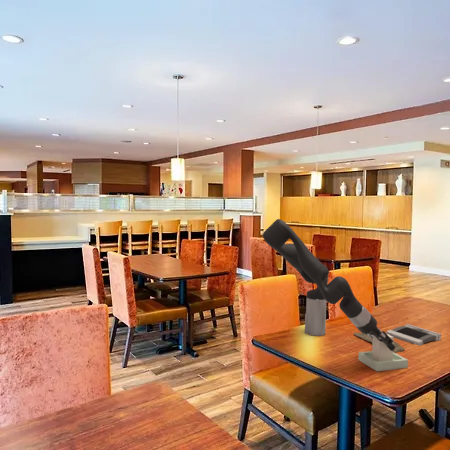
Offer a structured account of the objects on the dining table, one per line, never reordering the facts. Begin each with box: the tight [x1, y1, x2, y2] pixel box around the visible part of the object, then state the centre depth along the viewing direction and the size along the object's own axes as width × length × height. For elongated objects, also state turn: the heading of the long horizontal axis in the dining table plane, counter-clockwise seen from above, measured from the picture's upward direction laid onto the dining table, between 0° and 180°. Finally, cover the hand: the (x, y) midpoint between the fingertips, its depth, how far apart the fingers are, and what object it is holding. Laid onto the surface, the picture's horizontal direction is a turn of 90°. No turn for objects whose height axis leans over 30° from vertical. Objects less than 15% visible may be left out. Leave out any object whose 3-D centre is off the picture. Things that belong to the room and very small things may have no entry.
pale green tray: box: [357, 350, 409, 372], centre depth 156 cm, size 11×14×3 cm
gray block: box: [371, 333, 395, 362], centre depth 155 cm, size 4×6×10 cm, turn 106°
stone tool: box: [353, 332, 405, 353], centre depth 180 cm, size 11×3×25 cm
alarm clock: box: [386, 323, 442, 347], centre depth 187 cm, size 17×5×16 cm
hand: (386, 345), depth 156 cm, fingers open, 8 cm apart
